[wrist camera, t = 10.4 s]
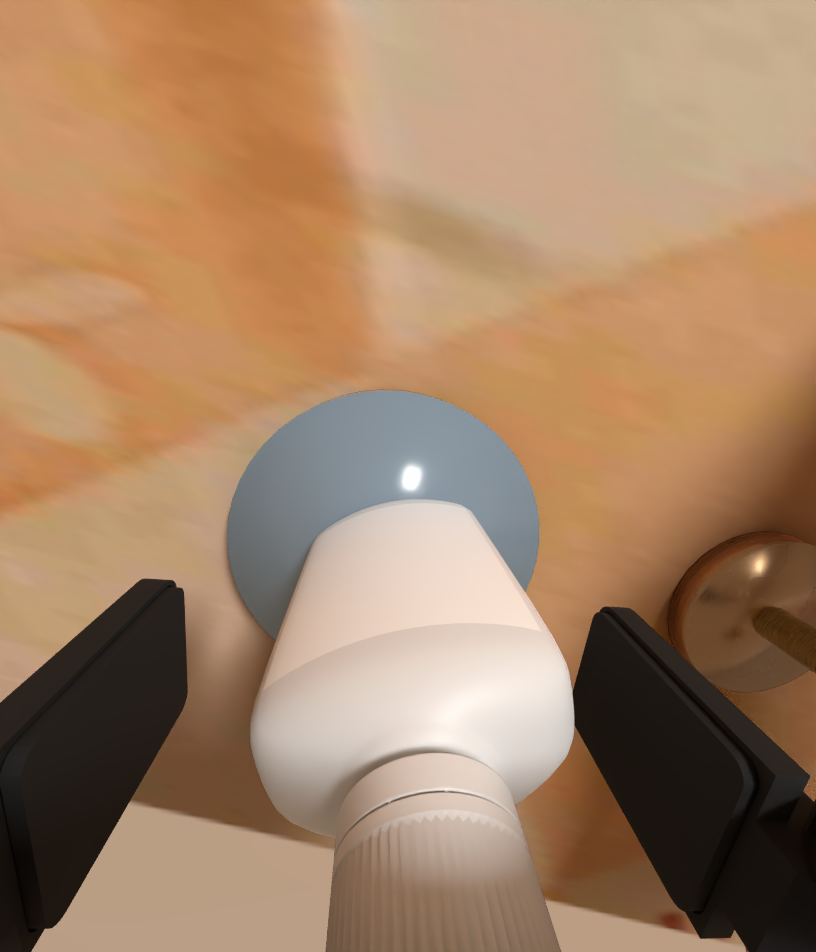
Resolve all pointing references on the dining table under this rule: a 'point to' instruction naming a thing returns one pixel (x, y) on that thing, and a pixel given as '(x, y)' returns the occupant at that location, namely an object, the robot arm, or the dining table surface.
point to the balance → (748, 612)
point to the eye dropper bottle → (416, 730)
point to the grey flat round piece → (369, 486)
